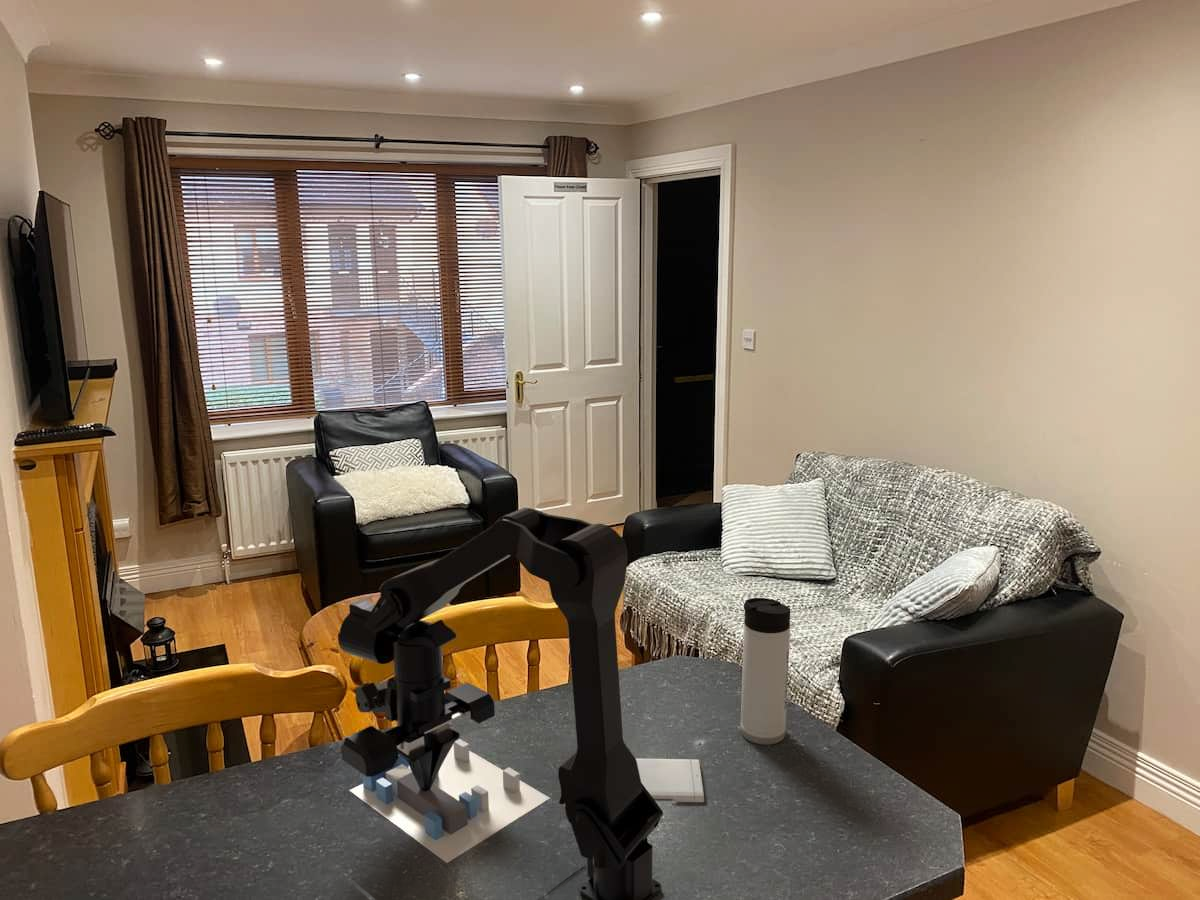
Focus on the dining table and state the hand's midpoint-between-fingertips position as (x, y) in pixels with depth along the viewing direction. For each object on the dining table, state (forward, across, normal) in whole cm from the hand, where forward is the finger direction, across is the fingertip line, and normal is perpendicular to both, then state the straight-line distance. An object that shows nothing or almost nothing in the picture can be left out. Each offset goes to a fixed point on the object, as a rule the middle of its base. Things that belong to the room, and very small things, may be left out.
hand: (425, 789), depth 107 cm
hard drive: (+4, -23, +17) cm, 29 cm away
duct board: (+3, -4, 0) cm, 5 cm away
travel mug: (+3, -42, +21) cm, 48 cm away
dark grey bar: (+2, 0, 0) cm, 2 cm away
